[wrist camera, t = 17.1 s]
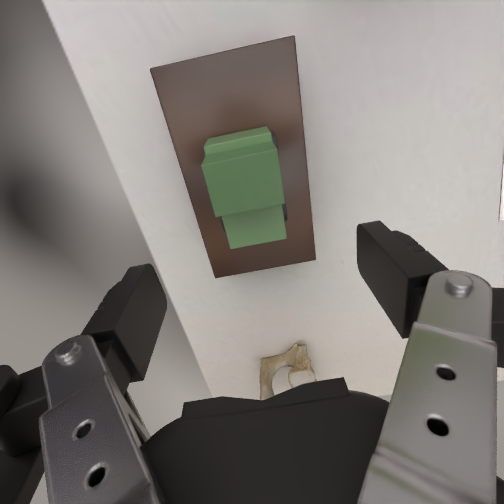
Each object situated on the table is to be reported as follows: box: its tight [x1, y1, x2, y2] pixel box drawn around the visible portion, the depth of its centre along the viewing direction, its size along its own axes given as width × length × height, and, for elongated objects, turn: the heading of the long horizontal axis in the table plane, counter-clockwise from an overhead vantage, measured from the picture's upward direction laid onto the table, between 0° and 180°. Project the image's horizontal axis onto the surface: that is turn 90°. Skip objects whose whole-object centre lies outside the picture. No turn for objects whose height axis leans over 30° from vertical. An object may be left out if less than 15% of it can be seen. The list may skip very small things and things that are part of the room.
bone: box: [260, 343, 317, 400], centre depth 35 cm, size 9×6×10 cm
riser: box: [150, 36, 316, 278], centre depth 24 cm, size 16×9×5 cm, turn 11°
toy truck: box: [201, 126, 288, 249], centre depth 19 cm, size 7×5×6 cm
